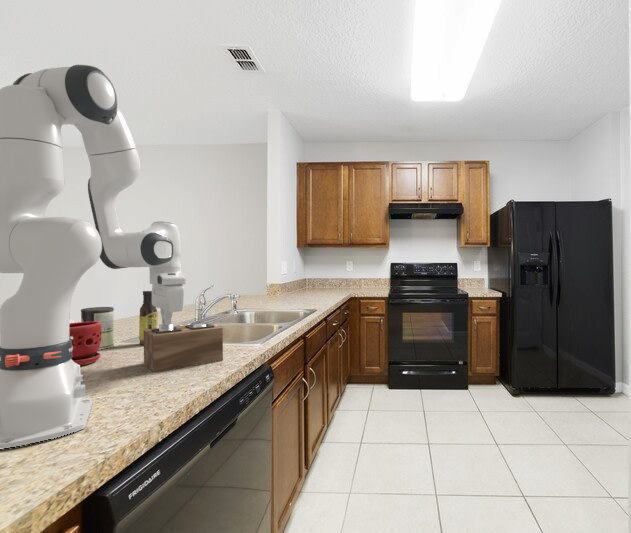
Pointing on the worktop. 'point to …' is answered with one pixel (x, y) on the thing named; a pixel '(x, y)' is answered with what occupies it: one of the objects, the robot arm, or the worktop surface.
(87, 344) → the plant pot
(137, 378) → the worktop surface
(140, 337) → the sauce bottle
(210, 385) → the worktop surface
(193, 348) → the socket block
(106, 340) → the coffee can
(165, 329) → the near peg
